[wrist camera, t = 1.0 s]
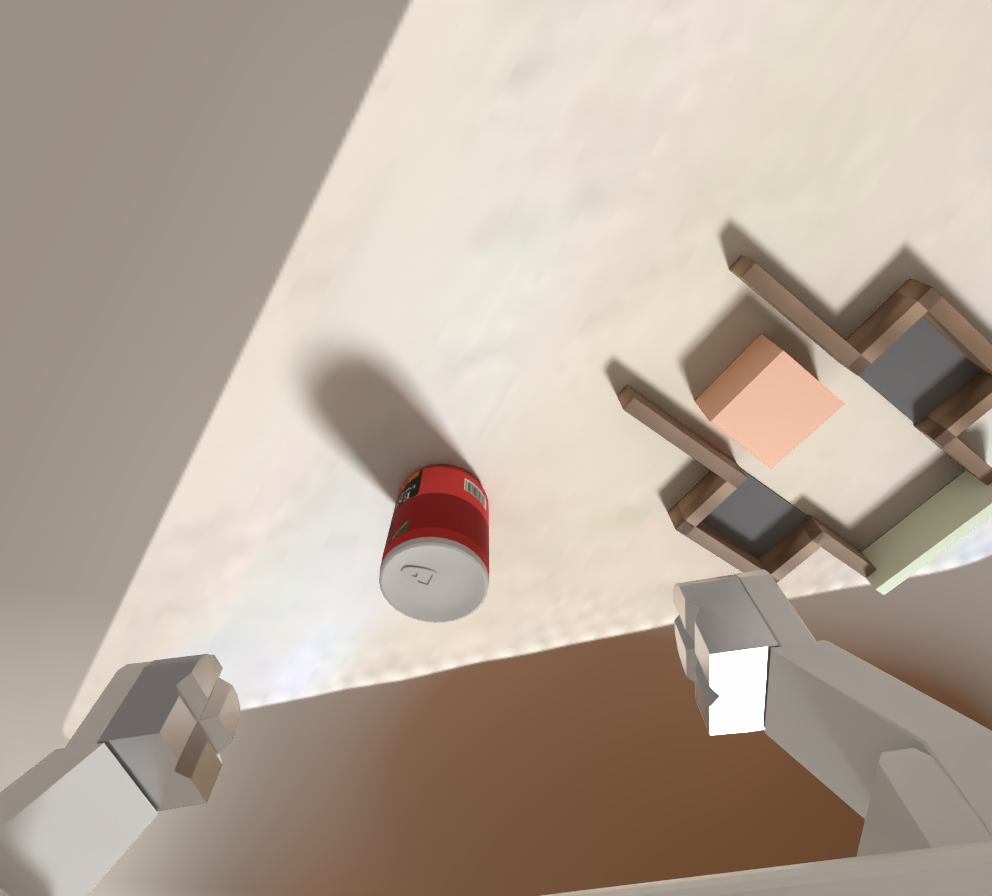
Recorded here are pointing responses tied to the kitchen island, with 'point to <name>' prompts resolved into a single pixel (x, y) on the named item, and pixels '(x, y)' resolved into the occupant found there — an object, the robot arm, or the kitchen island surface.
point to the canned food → (437, 546)
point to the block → (767, 402)
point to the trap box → (903, 382)
